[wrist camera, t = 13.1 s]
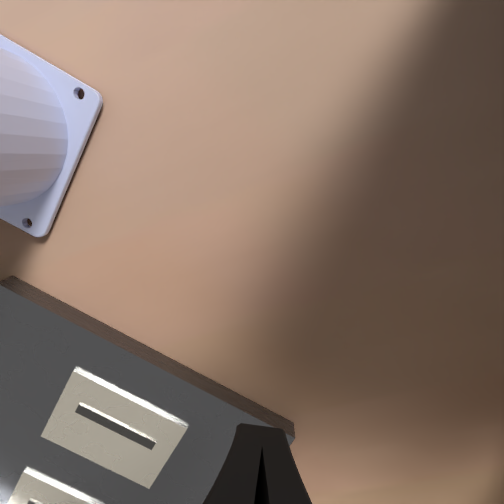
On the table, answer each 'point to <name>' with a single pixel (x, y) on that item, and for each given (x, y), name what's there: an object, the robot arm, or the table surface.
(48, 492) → the panel
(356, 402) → the table surface
